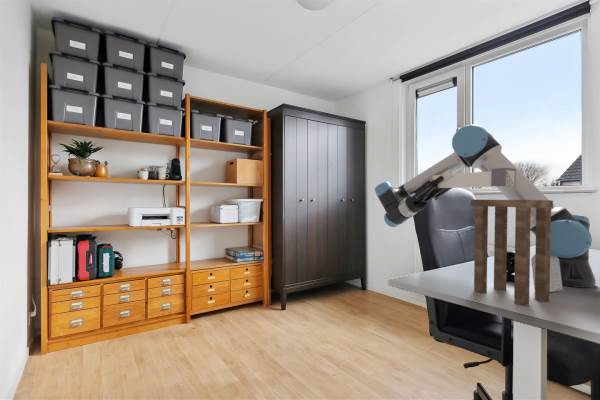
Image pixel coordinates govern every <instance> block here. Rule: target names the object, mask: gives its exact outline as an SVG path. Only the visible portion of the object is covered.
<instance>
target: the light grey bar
mask: <svg viewBox="0 0 600 400" xmlns="http://www.w3.org/2000/svg"><path fill="white" fill-rule="evenodd" d="M461 173H462V174H453V177H451V178H450V179H449V180H447V181H446V182H444V183H443V184H442V185H440V186H438V184H437V186H438V188H452V189H456V188H457V189H459V188H491V187H492V188H493V187H495V188H497V187H500V186H501V187H503V186H515V181H516V169H514V168H495V169H492V171H488V172H482V171H476V172H464V173H463V172H461ZM439 176H441V175H435V176H432V180H435V179H437V178H438V177H439Z"/></svg>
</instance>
